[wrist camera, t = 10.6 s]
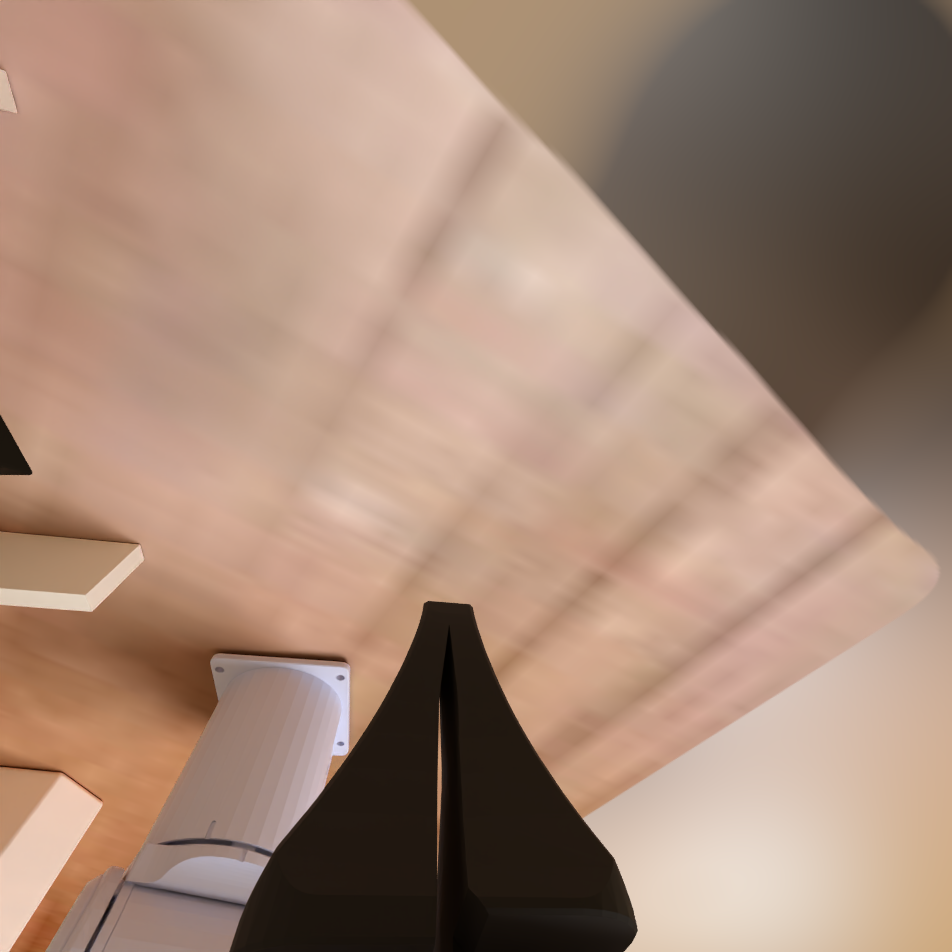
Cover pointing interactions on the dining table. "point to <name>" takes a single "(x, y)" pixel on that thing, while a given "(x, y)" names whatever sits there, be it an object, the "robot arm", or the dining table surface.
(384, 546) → the dining table surface
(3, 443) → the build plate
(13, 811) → the jar
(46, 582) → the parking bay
